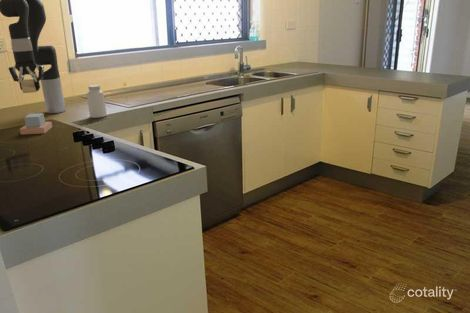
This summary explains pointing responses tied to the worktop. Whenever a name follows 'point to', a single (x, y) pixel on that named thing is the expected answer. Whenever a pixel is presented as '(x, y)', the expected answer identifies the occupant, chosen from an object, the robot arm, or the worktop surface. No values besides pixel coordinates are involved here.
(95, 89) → the pill bottle
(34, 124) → the blue block
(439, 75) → the worktop surface
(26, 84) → the oak block
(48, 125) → the tile base
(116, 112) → the worktop surface
